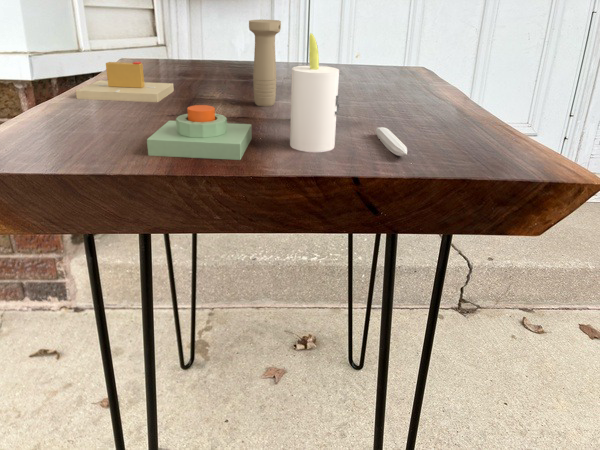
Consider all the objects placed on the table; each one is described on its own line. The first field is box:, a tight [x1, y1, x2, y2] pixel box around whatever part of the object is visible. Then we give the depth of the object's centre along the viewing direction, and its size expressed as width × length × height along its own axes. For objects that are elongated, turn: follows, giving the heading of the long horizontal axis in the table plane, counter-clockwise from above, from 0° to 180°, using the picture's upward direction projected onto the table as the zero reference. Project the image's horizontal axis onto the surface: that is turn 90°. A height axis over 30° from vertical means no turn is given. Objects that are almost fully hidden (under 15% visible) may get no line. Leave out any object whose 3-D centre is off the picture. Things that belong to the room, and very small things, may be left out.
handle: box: [248, 19, 282, 107], centre depth 88 cm, size 5×6×15 cm
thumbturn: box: [105, 61, 145, 88], centre depth 93 cm, size 6×2×4 cm, turn 87°
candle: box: [289, 32, 341, 153], centre depth 71 cm, size 6×6×15 cm
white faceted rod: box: [375, 126, 408, 157], centre depth 74 cm, size 2×14×2 cm, turn 6°
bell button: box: [186, 104, 216, 122], centre depth 70 cm, size 4×4×2 cm
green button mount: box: [146, 113, 253, 161], centre depth 71 cm, size 12×10×4 cm
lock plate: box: [75, 79, 175, 103], centre depth 94 cm, size 14×10×3 cm
